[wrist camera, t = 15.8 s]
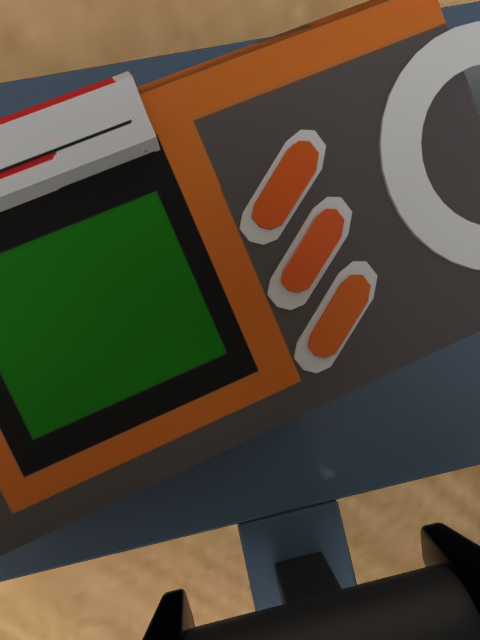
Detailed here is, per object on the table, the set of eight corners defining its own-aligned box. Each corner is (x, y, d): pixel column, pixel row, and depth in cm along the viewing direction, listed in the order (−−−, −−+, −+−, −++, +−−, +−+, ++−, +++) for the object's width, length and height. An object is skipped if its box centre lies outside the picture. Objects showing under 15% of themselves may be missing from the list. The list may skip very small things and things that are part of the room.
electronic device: (666, 250, 8) (-99, 610, 7) (541, 264, 11) (-14, 519, 10) (551, -98, 8) (-310, 217, 6) (451, 11, 11) (-154, 243, 9)
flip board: (612, 514, 12) (834, 599, 7) (-38, 682, 10) (-211, 894, 6) (475, 45, 13) (598, -110, 9) (-115, 150, 12) (-302, 30, 8)
